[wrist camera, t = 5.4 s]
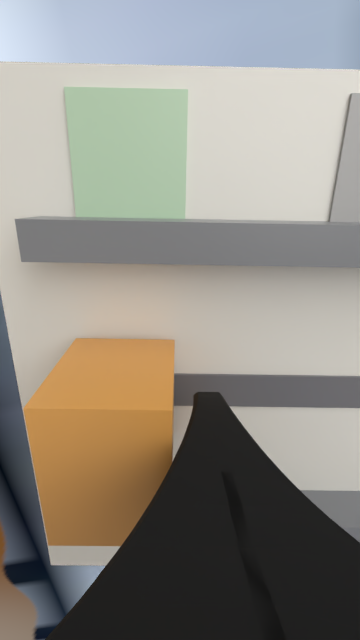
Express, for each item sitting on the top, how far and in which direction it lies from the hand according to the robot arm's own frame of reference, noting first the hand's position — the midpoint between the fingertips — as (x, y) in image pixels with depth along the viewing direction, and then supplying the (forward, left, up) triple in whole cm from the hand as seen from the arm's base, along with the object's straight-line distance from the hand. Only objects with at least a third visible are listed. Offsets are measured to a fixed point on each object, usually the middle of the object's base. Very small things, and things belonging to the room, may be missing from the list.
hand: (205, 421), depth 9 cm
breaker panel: (0, -1, -4) cm, 4 cm away
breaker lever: (0, +2, -1) cm, 3 cm away
